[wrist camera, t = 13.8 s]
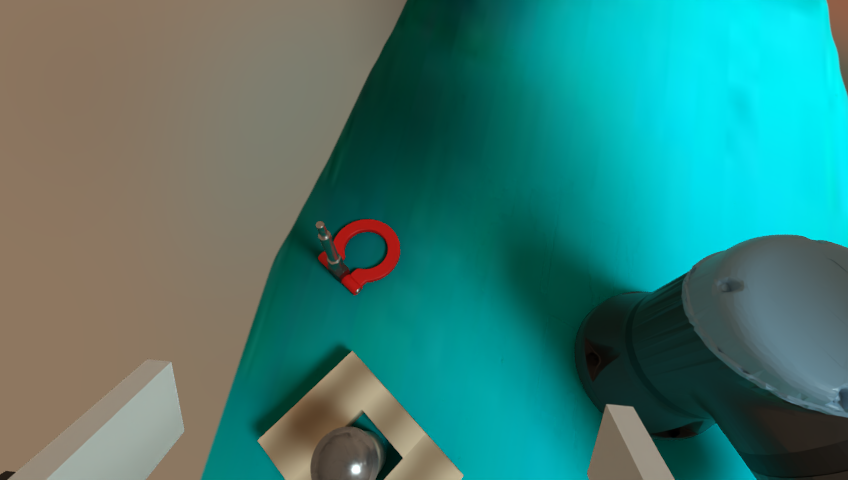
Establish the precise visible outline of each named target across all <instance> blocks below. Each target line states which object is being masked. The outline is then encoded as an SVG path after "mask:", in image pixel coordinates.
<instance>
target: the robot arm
mask: <svg viewBox="0 0 848 480" xmlns="http://www.w3.org/2000/svg"><path fill="white" fill-rule="evenodd" d="M575 361H576V367H577V371H578V375H579V378H580V380H581V383H582V385H583V387H584V389H585V391H586V393H587V394H588V396H589V398H590V399H591V400H592V402H593V403H594V404H595V406H596V407H597V408H598V409H599V410H600V411H601V412H602V413H603V418H602V421H601V425H600V429H599V432H598V436H597V440H596V443H595V447H594V451H593V454H592V458H591V462H590V465H589V469H588V473H587V474H588V477H589V480H675V479H674V477H673V476H672V474H671V472H670V470H669V469H668V467H667V465H666V463H665V462H664V460H663V458H662V457H661V455H660V453H659V451H658V450H657V448H656V446H655V444H654V443H653V441H652V439H659V440H680V439H686V438H689V437H693V436H696V435H698V434H700V433H702V432H704V431H706V430H707V429H708V428H710V427H711V426H712V425H714V424H715V423H717V424H718V426H719V427H720V429H721V430H722V431H723V433H724V434H725V435H726V437H727V438H728V440H729V441H730V442H731V444H732V445H733V446H734V448H735V449H736V451H737V452H738V453H739V455H740V456H741V458H742V459H743V460H744V462H745V463H746V465H747V466H748V468H749V469H750V471H751V472H752V473H753V475H754V476H755V478H756V479H757V480H848V248H846V247H844V246H841V245H838V244H835V243H832V242H828V241H824V240H817V241H816V240H810V239H808V238H806V237H804V236H799V235H769V236H762V237H757V238H753V239H750V240H747V241H744V242H741V243H739V244H737V245H735V246H733V247H731V248H729V249H727V250H725V251H720V252H717V253H714V254H711V255H709V256H707V257H705V258H703V259H702V260H700V261H699V262H698V263H696V264H695V265H694V266H693V267H692V269H691V270H690V271H689V272H687V273H685V274H683V275H682V276H680V277H678V278H676V279H675V280H673V281H671V282H669V283H668V284H666V285H664V286H662V287H661V288H659V289H657V290H655V291H654V292H628V293H623V294H620V295H616V296H614V297H611V298H609V299H608V300H606V301H604V302H603V303H601V304H600V305H598V306H597V307H596V308H594V309H593V310H592V311H591V312H590V313H589V314H588V315H587V317H586V318H585V319H584V321H583V322H582V324H581V326H580V329H579V331H578V334H577V338H576V343H575ZM183 432H184V426H183V421H182V415H181V410H180V405H179V400H178V395H177V389H176V384H175V379H174V374H173V368H172V363H171V362H170V361H159V360H150V359H147V360H146V361H145V362H143V363H142V364H141V365H140V366H139V367H138V368H137V369H135V370H134V371H133V372H132V373H131V374H129V375H128V376H127V377H126V378H125V379H124V380H123V381H121V382H120V383H119V384H118V385H117V386H116V387H114V388H113V389H112V390H111V391H110V392H109V393H108V394H106V395H105V396H104V397H103V398H102V399H100V400H99V401H98V402H97V403H96V404H95V405H93V406H92V407H91V408H90V409H89V410H88V411H87V412H85V413H84V414H83V415H82V416H81V417H80V418H78V419H77V420H76V421H75V422H74V423H73V424H72V425H70V426H69V427H68V428H67V429H66V430H64V431H63V432H62V433H61V434H60V435H59V436H58V437H57V438H55V439H54V440H53V441H52V442H51V443H49V444H48V445H47V446H46V447H45V448H44V449H43V450H41V451H40V452H39V453H38V454H37V455H35V456H34V457H33V458H32V459H31V460H30V461H28V462H27V463H26V464H25V465H24V466H23V467H22V468H21V469H19V470H18V471H17V472H9V471H5V472H4V473H2V474H1V475H0V480H145V479H146V478H147V477H148V476H149V474H150V473H151V472H152V471H153V470H154V468H155V467H156V466H157V465H158V463H159V462H160V461H161V460H162V458H163V457H164V456H165V455H166V453H167V452H168V451H169V450H170V448H171V447H172V446H173V444H174V443H175V442H176V441H177V440H178V438H179V437H180V436H181V435H182V433H183Z"/></svg>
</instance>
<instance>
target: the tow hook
mask: <svg viewBox="0 0 848 480" xmlns="http://www.w3.org/2000/svg"><path fill="white" fill-rule="evenodd" d="M316 227H317V229H318V232H319V234H318V237H319V239H320V241H321V244H322V246H323V248H324V250H325V251H324V252H322V253H321V254H320V255H319V257H318V260H319V261H320V262H321V263H322V264H323V265H324V266H325V267H326V268H327V269H328V270H329V271H330V273H331V274H332V275H333V276H334V277H335V278H336V279H337V280H338V281H339V282H340V283H343V284H344V285H345V286H346V287H347V288H348V289H349V290H350V291H351V292H352V293H353V294H354V295H356V294H358V293H359V292H360V291H361V290H362V288H363V287H362V286H363V285H364V284H365V283H367V282H373V281H377V280H380V279H382V278H383V277H385V276H387V275H388V274H389V273H390V272H391V271H392V270H393V269H394V268H395V266H396V264H397V262H398V260H399V256H400V243H399V240H398V237H397V235H396V234H395V232H394V231H393V230H392V229H391V228H390V227H389V226H388V225H386V224H384V223H382V222H380V221H377V220H371V219H365V220H358V221H355V222H352V223H350V224H348V225H347V226H345V227H344V228H343V229H342V230H341V231H340V232H339V233H338V234H337V236H336V237H335V239H334V242H333V239H332V237H331V234H330V232H329V231H328V230H326V227H325V225H324V223H323V222H322V221H319V222H317V223H316ZM362 232H373V233H376V234H378V235H380V236H381V237H383V238H384V240H385V241H386V243H387V246H388V252H387V256H386V257H385V259H384V261H383V262H382V263H381V264H379V265H378V266H376V267H374V268H371V269H359V268H358V269H356V270H355V271H354V272H353V273H351V274H350V271H349V268H348V267H347V266H346V265H345V264H344V262H343V260H344V259H345V247H346V244H347V243H348V241H349V240H350V239H351V238H352V237H353V236H354V235H356V234H358V233H362Z"/></svg>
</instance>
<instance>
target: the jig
mask: <svg viewBox="0 0 848 480" xmlns="http://www.w3.org/2000/svg"><path fill="white" fill-rule="evenodd" d="M364 412H365V414H366V415H367V416H368V417H369V418H370V419H371V421H372V422H373V423H374V424H375V425H376V427H377V428H378V429H379V430H380V431H381V432H382V434H383V435H384V436H385V437H386V438H387V439H388V441H389V442H390V443H391V444H392V445H393V447H394V448H395V449H396V450H397V451H398V452H399V454H400V455H401V456H402V457H403V459H402V460H401V461H400V462H399V463H398V464H397V465H396V466H395V468H394V469H393V470H392V471H391V472H390V473H389V474H388V475H387V476H386V477H385V479H384V480H461V478H462V477H463V474H462V473H461V472H460V470H459V469H458V468H457V467H456V466H455V465H454V464H453V463H452V461H451V460H450V459H449V458H448V457H447V456H446V455H445V454H444V453H443V451H442V450H441V449H440V448H439V447H438V446H437V445H436V444H435V442H434V441H433V440H432V439H431V438H430V437H429V436H428V435H427V433H426V432H425V431H424V430H423V429H422V428H421V427H420V426H419V425H418V423H417V422H416V421H415V420H414V419H413V418H412V417H411V416H410V414H409V413H408V412H407V411H406V410H405V409H404V408H403V407H402V405H401V404H400V403H399V402H398V401H397V400H396V399H395V398H394V397H393V395H392V394H391V393H390V392H389V391H388V390H387V389H386V388H385V386H384V385H383V384H382V383H381V382H380V381H379V380H378V379H377V378H376V376H375V375H374V374H373V373H372V372H371V371H370V370H369V369H368V367H367V366H366V365H365V364H364V363H363V362H362V361H361V360H360V358H359V357H358V356H357V355H356V354H355V353H354V352H353V351H352V352H351V353H349V354H348V355H347V356H346V357H345V358H344V359H343V360H342V361H341V362H340V363H339V364H338V365H337V366H336V367H335V368H334V369H333V370H331V371H330V372H329V373H328V374H327V375H326V376H325V377H324V378H323V379H322V380H321V381H320V382H319V383H318V384H317V385H316V386H315V387H314V388H312V389H311V390H310V391H309V392H308V393H307V394H306V395H305V396H304V397H303V398H302V399H301V400H300V401H299V402H298V403H297V404H296V405H294V406H293V407H292V408H291V409H290V410H289V411H288V412H287V413H286V414H285V415H284V416H283V417H282V418H281V419H280V420H279V421H278V422H276V423H275V424H274V425H273V426H272V427H271V428H270V429H269V430H268V431H267V432H266V433H265V434H264V435H263V436H262V437H261V438H260V439H258V440H257V441H258V442H259V443H260V445H261V446H262V448H263V449H264V450H265V452H266V453H267V455H268V456H269V457H270V459H271V460H272V461H273V463H274V464H275V466H276V467H277V468H278V470H279V471H280V472H281V474H282V475H283V477H284V478H285V479H286V480H312V479H311V472H310V465H311V459H312V455H313V452H314V450H315V448H316V446H317V444H318V443H319V441H320V440H321V439H322V438H323V437H324V436H325V435H326V434H328V433H329V432H331V431H332V430H334V429H337V428H341V427H350V426H351V425H352V424H353V423H354V422H355V421H356V420H357V419H358V418H359V417H360V416H361V415H362V414H363V413H364Z"/></svg>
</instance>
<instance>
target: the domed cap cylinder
mask: <svg viewBox="0 0 848 480" xmlns="http://www.w3.org/2000/svg"><path fill="white" fill-rule="evenodd" d="M385 461H386V447H385V444H384V442H383V440H382V439H381V437H380V436H379V435H377V434H376V433H374V432H371V431H363V430H361V429H359V428H355V427H341V428H337V429H334V430H332V431H331V432H329V433H328V434H326V435H325V436H324V437H323V438H322V439H321V440H320V441H319V443H318V444H317V446H316V448H315V450H314V452H313V455H312V459H311V465H310V472H311V479H312V480H375V479H376V477H377V474H378V473H379V472H380V471H381V470H382V468H383V466H384V464H385Z"/></svg>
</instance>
